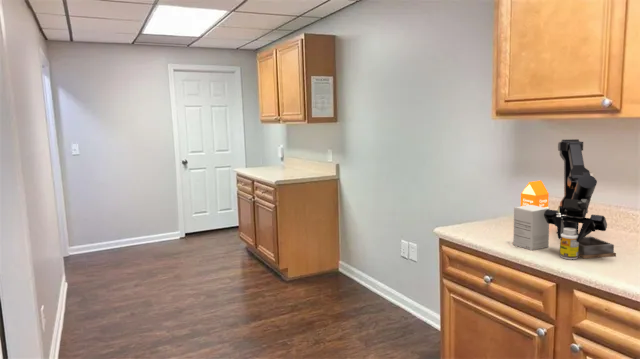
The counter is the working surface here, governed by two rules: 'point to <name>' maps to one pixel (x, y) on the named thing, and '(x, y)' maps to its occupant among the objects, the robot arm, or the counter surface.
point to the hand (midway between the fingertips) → (568, 239)
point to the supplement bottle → (569, 244)
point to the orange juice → (535, 194)
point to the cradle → (595, 248)
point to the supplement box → (530, 227)
